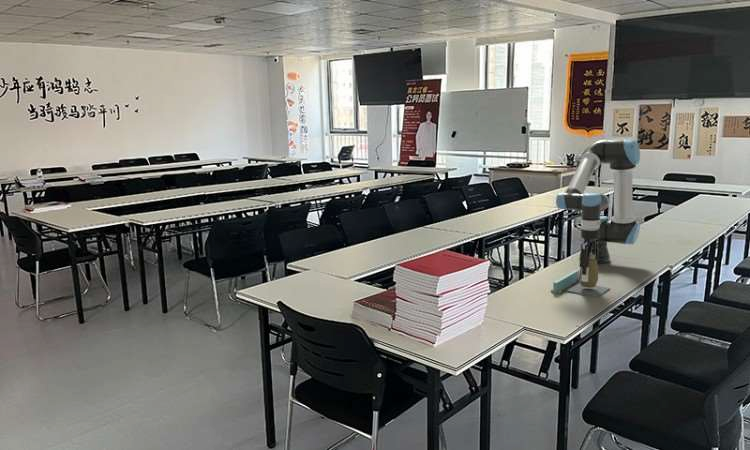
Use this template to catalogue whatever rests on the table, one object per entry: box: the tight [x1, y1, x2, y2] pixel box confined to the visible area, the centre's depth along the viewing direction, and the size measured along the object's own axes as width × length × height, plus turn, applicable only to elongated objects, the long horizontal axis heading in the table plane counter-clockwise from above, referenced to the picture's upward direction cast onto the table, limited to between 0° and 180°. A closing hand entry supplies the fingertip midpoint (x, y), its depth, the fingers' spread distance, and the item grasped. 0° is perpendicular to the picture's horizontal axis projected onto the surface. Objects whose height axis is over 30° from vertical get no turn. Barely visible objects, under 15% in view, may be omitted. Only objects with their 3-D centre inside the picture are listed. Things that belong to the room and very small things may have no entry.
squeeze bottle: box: [579, 252, 599, 288], centre depth 245 cm, size 8×8×18 cm
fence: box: [550, 269, 580, 295], centre depth 253 cm, size 4×24×5 cm, turn 138°
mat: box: [565, 282, 611, 299], centre depth 247 cm, size 14×14×1 cm
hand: (588, 278), depth 246 cm, fingers closed on squeeze bottle, 8 cm apart
